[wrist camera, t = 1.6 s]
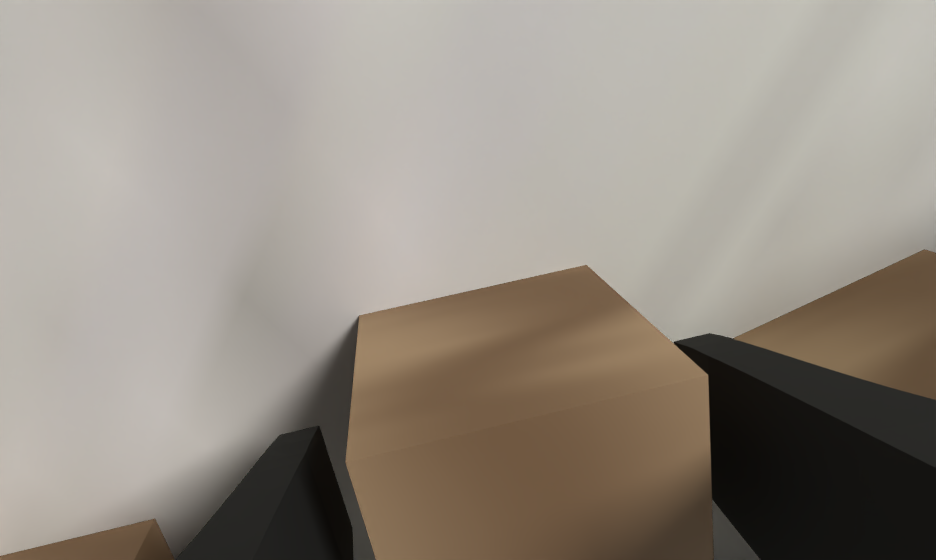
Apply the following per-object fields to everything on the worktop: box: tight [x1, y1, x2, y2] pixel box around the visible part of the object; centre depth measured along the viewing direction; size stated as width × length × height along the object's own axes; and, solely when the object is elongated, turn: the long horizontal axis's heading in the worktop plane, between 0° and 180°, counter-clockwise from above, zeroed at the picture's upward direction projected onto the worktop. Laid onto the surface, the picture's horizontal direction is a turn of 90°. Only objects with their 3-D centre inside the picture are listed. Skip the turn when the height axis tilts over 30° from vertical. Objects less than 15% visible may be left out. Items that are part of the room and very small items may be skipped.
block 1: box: [345, 265, 714, 560], centre depth 9 cm, size 4×4×4 cm
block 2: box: [733, 250, 936, 400], centre depth 10 cm, size 4×4×4 cm
